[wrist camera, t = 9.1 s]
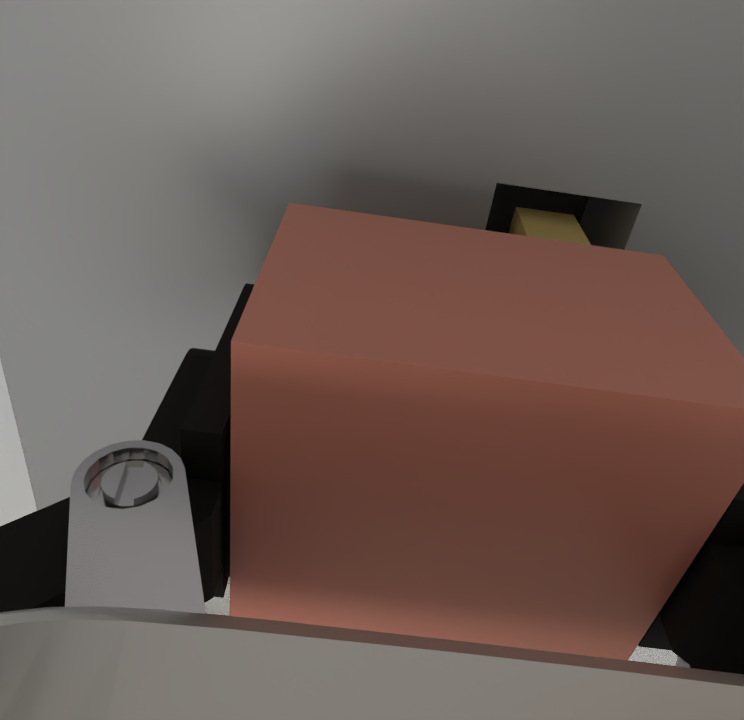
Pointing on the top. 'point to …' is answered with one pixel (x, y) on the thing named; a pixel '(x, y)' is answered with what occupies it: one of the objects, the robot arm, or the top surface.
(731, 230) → the socket
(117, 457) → the robot arm
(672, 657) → the top surface
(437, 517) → the pink block
